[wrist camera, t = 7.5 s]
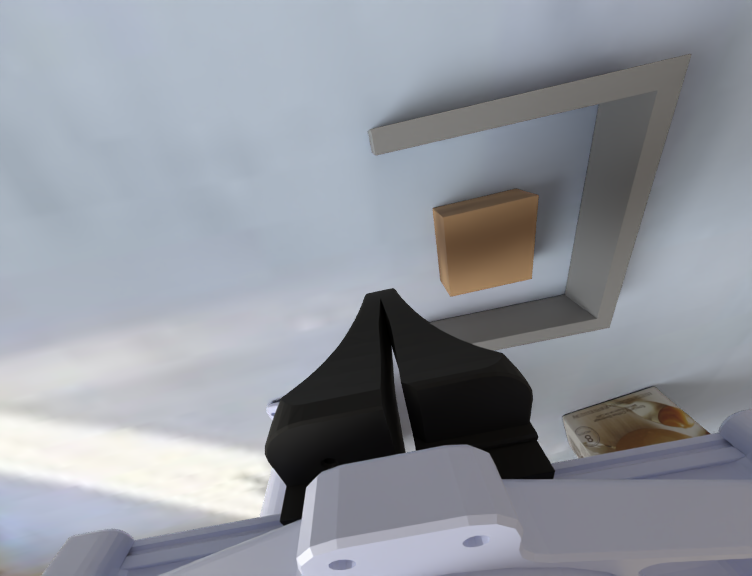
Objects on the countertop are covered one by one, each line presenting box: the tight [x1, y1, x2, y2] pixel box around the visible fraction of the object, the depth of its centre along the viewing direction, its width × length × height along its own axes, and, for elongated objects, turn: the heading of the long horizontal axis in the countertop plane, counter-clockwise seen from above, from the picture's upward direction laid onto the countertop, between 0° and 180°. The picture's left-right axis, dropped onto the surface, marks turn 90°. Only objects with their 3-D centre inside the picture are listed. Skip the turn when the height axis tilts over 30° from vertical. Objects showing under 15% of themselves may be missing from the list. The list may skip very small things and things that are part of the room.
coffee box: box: [562, 387, 710, 458], centre depth 21 cm, size 9×6×16 cm
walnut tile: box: [433, 189, 539, 297], centre depth 16 cm, size 5×5×2 cm
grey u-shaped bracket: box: [368, 54, 691, 351], centre depth 15 cm, size 14×13×3 cm
